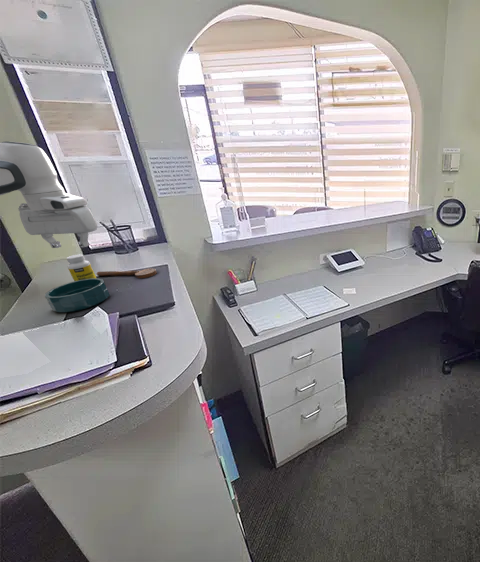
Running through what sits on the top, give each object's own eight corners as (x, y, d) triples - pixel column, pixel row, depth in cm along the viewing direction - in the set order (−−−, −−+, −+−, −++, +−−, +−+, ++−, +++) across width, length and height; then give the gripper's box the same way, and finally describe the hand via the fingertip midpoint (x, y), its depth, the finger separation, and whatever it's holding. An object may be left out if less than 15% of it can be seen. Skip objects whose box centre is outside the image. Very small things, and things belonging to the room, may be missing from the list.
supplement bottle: (80, 289, 98) (66, 260, 94) (74, 285, 101) (60, 257, 96) (101, 282, 102) (88, 254, 98) (94, 279, 105) (82, 252, 101)
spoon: (90, 279, 105) (88, 275, 104) (105, 272, 111) (103, 268, 110) (148, 278, 104) (147, 273, 103) (160, 271, 109) (159, 267, 108)
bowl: (41, 314, 84) (31, 298, 81) (82, 293, 95) (75, 278, 93) (83, 313, 83) (75, 297, 81) (120, 292, 94) (114, 277, 92)
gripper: (4, 205, 88) (29, 251, 94) (70, 202, 87) (92, 249, 92) (27, 201, 94) (50, 244, 100) (90, 198, 92) (109, 242, 98)
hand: (71, 247), depth 96 cm, fingers open, 8 cm apart
